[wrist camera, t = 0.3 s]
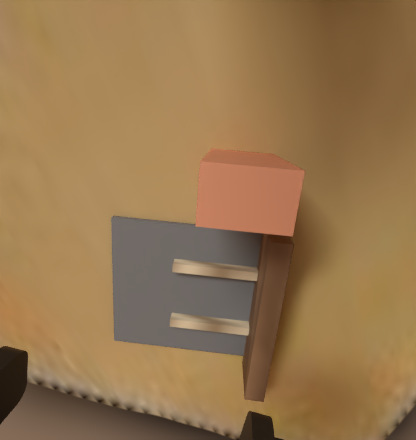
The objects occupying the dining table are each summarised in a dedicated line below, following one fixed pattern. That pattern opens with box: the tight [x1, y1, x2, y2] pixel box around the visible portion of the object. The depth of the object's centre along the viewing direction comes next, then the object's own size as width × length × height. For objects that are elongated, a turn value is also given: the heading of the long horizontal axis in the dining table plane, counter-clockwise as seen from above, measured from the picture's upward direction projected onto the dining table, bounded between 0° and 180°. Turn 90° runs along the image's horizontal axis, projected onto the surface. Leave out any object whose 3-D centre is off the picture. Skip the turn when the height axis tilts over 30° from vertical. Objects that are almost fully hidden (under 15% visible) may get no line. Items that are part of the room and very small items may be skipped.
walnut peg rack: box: [170, 233, 294, 402], centre depth 29 cm, size 11×18×5 cm, turn 175°
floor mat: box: [111, 216, 262, 356], centre depth 32 cm, size 18×16×1 cm
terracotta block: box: [195, 149, 305, 236], centre depth 22 cm, size 6×4×12 cm, turn 85°
